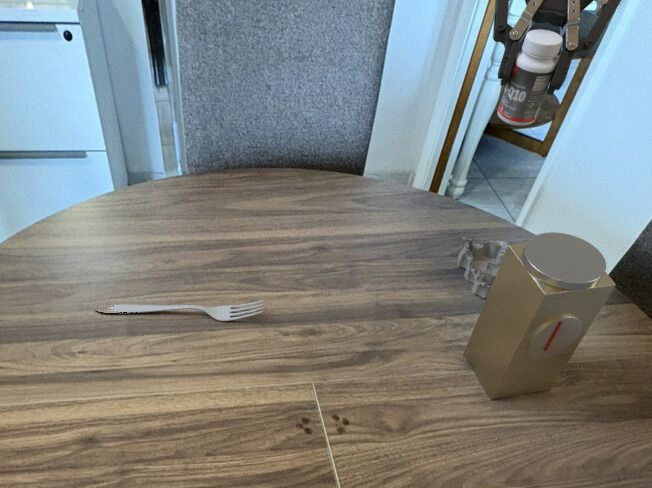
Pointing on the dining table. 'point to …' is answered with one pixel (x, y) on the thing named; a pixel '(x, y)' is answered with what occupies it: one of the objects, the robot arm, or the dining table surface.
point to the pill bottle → (530, 77)
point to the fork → (216, 312)
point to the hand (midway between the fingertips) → (527, 86)
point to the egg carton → (481, 263)
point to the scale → (537, 313)
